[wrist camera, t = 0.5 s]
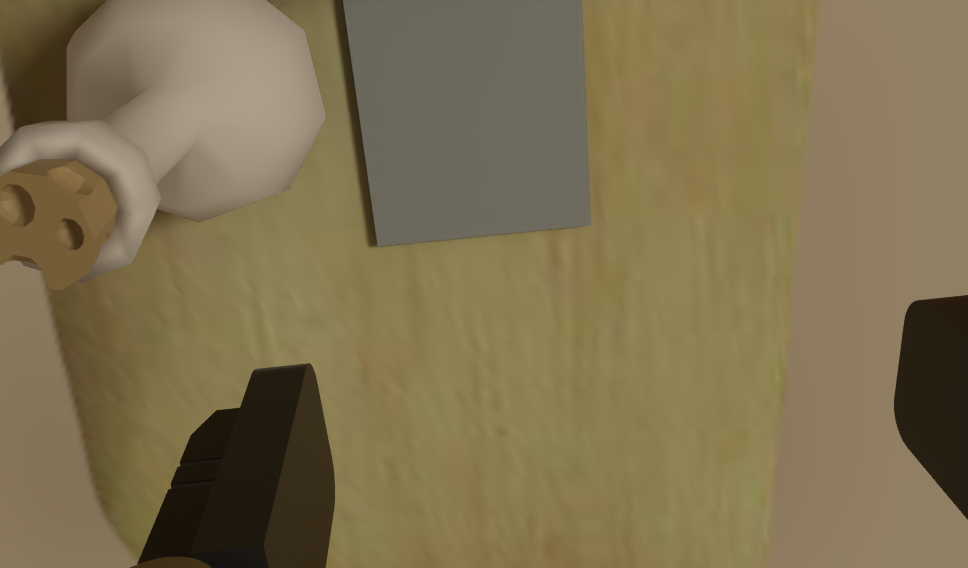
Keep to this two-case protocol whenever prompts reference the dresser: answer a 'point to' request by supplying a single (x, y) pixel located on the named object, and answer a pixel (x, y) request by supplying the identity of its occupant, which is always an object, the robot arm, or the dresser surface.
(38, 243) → the potion bottle
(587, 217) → the mat
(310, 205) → the dresser surface
